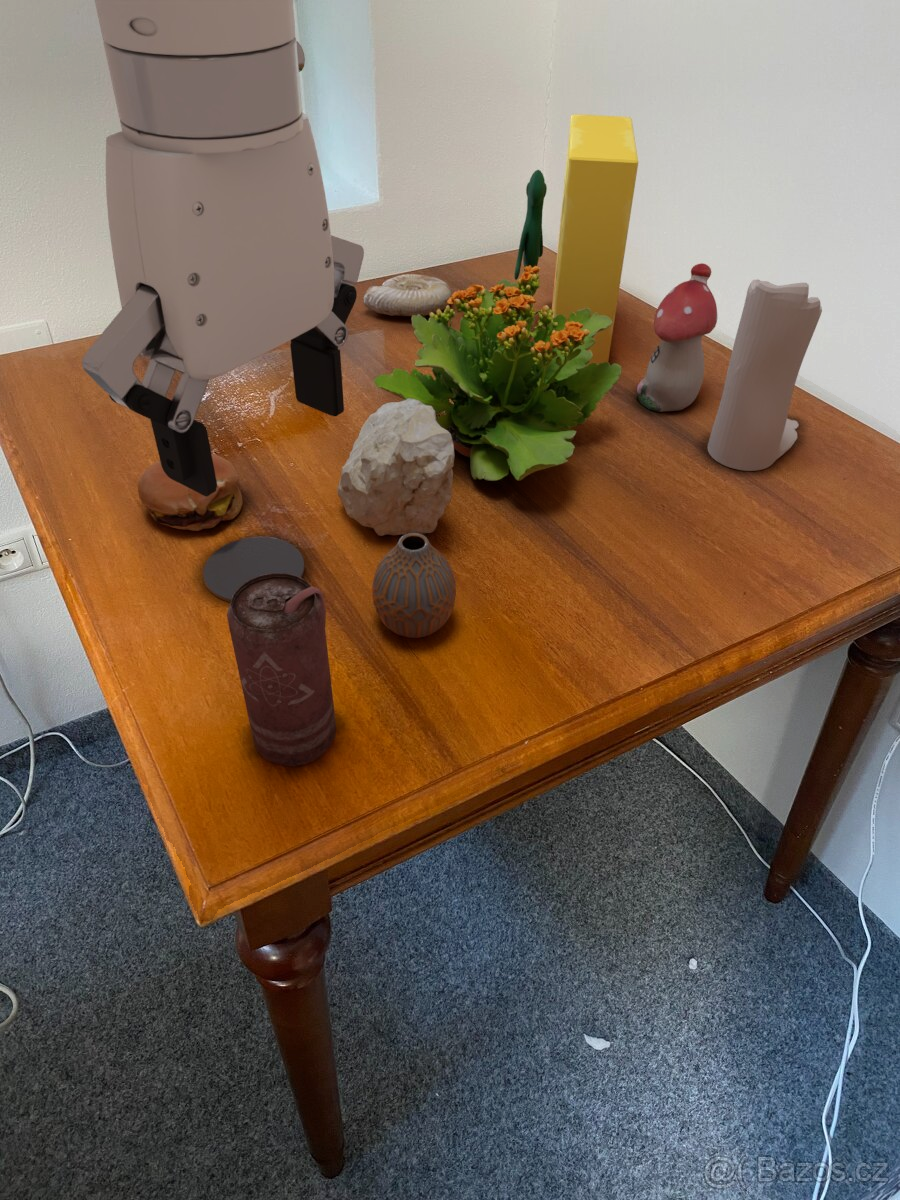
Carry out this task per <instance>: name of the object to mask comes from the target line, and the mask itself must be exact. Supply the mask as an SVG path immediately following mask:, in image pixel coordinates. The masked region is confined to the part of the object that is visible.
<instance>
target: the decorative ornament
mask: <svg viewBox="0 0 900 1200" xmlns="http://www.w3.org/2000/svg"><path fill="white" fill-rule="evenodd" d="M711 275H712V268H711V267H710V265H708V264H706V263H703V262H701V263H696V264H695V265H693V266H692V267H691V269H690V278H689V280H686V281H683V282H680V283H678V285H676V286H674V287H673V288H672V289H671V290H670V291H669V292H668V293H667V294H666V295H665V296H664V298H663V299H662V301H660V303H659V305H658V306H657V308H656V311H655V314H654V319H653V331H654V333H655V335H656V337H658V338H659V339H660V340H661V341H660V342H659V344H658V345H657V346H656V348H655V349H654V350H653V353H652V354H651V357H650V360H649V362H648V364H647V368H646V372H645V376H644V378H642V379H641V380H640V381H639V382H638V384H637V388H636V396H637V399H638V401H639V403H640V404H641V405H642V406H643V407H645V408H646V409H648V410H650V411H655V412H659V413H661V412H663V413H664V412H674V411H675V412H676V411H682V410H684V409H685V408H687V407H689V406H690V405H691V404H692V403H693V402H695V400H696V398H697V397H698V395H699V393H700V390H701V387H702V385H703V381H704V377H705V354H704V353H705V352H704V347H703V342H702V337H703V336H705V335H708V334H710V333H712V332H713V330H714V329H715V328H716V326H717V323H718V308H717V302H716V299H715V297H714V294H713V292H712V291H711V289H710V288H709V286H708V280H709V279H710V277H711Z"/></svg>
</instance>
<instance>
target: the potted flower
mask: <svg viewBox="0 0 900 1200" xmlns="http://www.w3.org/2000/svg"><path fill="white" fill-rule="evenodd" d="M522 268H523V271H522V274H521V275H520V278H519V277H518V279H517V282H515V281H514V282H511V281H510V280H509V279H506V278H504V279H502V280H499V281H498V282H497V283H496V285H494V286H491V287H490V288H489V289H487V288H485V285H480V284H477V283H476V284H471V285H469V286H468V287H467V288H465V289H464V290H463V289H462V290H460V289H458V290H457V291H454V292H452V296H451V297H450V298H449V300H448V301H447V304H449V305H447V306H446V308H444V310H443V312H442V310H439V309H438V310H437V312H436V313H432V312H431V313H430V315H429V318H428V319H426V317H424V316H423V315H422V316H421V315H420V314H418V315H417V316H416V315H413V316H411V327H412V329H413V330H414V331H413V334H414V336H415V338H416V340H417V341H418V343H419V344H420V345H422V347H420V348H418V349H417V351H416V356H417V357H418V358H419V359H414V367H416V368H417V369H416V368H412V369H411V372H410V373H409V371H407V370H405V369H401V368H393V370H392V373H390V374H387V373H382V374H381V375H377V376H376V377H375V378H373V382H374V384H375V386H376V387H377V388H378V389H382V390H384V391H387V392H388V393H390V394H392V395H394V396H396V397H399V398H401V399H403V401H404V400H407V399H408V398H410V399H416V400H419V401H420V402H422V403H423V404H424V405H427V406H432V407H433V409H434V410H435V413H436V415H437V414H439V416H438V417H436V421H437V423H438V424H439V425H440V426H441V427H442V428H444V429H446V430H447V431H448V432H449V433H450V434H451V437H452V441H453V446H454V450H456V451H457V453H458V454H460V455H462V456H464V457H466V458H469V464H470V474H471V478H472V480H475V481H476V480H477V479H478V480H479V481H481V480H483V479H484V480H485V481H489V482H497V481H499V480H502V479H503V478H505V477H507V476H508V475H509V473H511V475H512V476H513V477H514V479H515V480H516V481H522V480H523V479H525V478H526V477H527V476H529V475H531V474H533V473H536V472H539V471H543V470H546V469H549V468H553V467H557V466H560V465H562V464H565V463H568V458H570V457H571V456H573V454H574V451H575V449H576V446H575V445H574V444H573V443H572V441H573V440H574V437H575V436H576V434H577V430H573V428H577V427H578V425H582V424H585V423H586V419H589V418H590V417H591V415H592V412H594V411H595V410H596V409H597V408H598V403H599V402H601V400H602V399H603V398H604V397H605V394H607V393H608V392H609V391H610V390H611V389H612V388H613V386H614V385H615V384H617V382H619V380H620V376H621V374H622V366H621V365H620V364H618V363H616V362H614V363H612V364H611V363H610V362H609V361H608V362H603V363H600V364H599V365H597V364H596V363H591V364H588V365H587V366H586V364H587V363H589V361H590V360H591V359H592V356H593V354H592V352H591V350H588V351H586V350H587V349H589V348H590V347H591V346H592V345H594V344H595V340H594V339H593V337H594V336H595V335H596V333H597V332H599V331H602V330H604V329H606V328H608V327H609V326H610V325H612V324H613V322H612V320H611V319H610V318H609V317H607V316H605V315H600V316H599V315H598V313H597V312H595V313H594V314H593V315H592V316H591V310H590V309H589V308H584V309H581V310H578V311H577V313H576V314H575V313H574V312H572V313H571V314H570V316H569V319H568V322H567V319H566V317H565V316H564V315H563V314H558V315H557V316H556V317H554V318H553V317H552V315H553V313H554V311H552V308H550V307H549V306H548V305H547V304H545V305H543V306H542V308H541V309H539V310H536V311H535V307H534V306H533V305H534V304H535V303H537V300H536V298H535V297H534V296H535V294H536V293H537V290H538V289H539V288H540V287H541V285H540V274H539V272H540V270H541V267H538V265H537V266H535V267H533V268H532V267H531V265H529V266H526V267H524V266H523V267H522ZM524 269H525V270H526V271H524ZM528 292H530V294H529V293H528ZM454 304H455V309H456V311H454V309H453V308H451V307H450V305H454ZM456 313H463V315H462V317H461V318H460V320H459V330H457V329H455V328H454V327H453V326H452V323H453V320H452V319H453V318H454V317H455V316H456ZM536 315H538V319H539V320H537V325H536V326H534V327H533V329H535V330H534V331H533V332H532V326H533V323H534V322H535V319H536V317H535V316H536ZM590 316H591V317H590ZM552 320H553V322H552ZM449 322H450V323H449ZM448 325H449V326H448ZM531 337H532V338H533V341H530V338H531ZM418 368H432V369H431V372H432V374H433V376H434V377H435V378H433V376H432V375H431V374H423V373H422V371H418ZM450 400H451V402H450ZM443 412H445V414H444V413H443Z"/></svg>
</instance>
